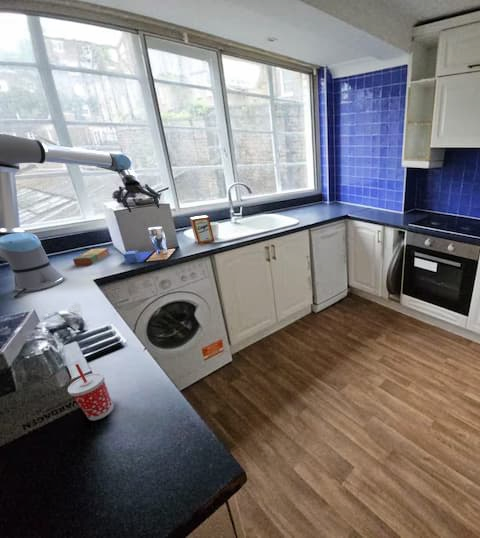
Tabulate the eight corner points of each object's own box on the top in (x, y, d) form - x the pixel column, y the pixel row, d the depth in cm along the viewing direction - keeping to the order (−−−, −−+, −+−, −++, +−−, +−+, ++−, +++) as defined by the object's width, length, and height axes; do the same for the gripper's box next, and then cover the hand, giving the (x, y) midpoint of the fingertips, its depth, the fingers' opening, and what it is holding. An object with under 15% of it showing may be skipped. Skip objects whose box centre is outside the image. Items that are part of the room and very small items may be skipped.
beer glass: (154, 256, 164) (146, 230, 158) (156, 252, 170) (148, 227, 164) (168, 254, 166) (161, 228, 160) (170, 250, 172) (163, 225, 166)
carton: (110, 254, 170) (107, 247, 168) (93, 264, 156) (90, 257, 154) (93, 255, 169) (91, 248, 167) (75, 266, 154) (71, 258, 152)
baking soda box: (211, 238, 195) (205, 214, 189) (214, 240, 191) (208, 216, 184) (195, 241, 190) (189, 217, 183) (198, 243, 185) (192, 218, 179)
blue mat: (143, 262, 157) (142, 261, 157) (121, 265, 154) (120, 264, 154) (154, 251, 173) (154, 250, 173) (134, 253, 170) (134, 252, 170)
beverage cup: (81, 413, 68) (54, 366, 62) (113, 397, 72) (91, 351, 67) (87, 428, 64) (60, 379, 59) (121, 409, 69) (98, 362, 63)
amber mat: (167, 259, 160) (166, 258, 160) (146, 262, 157) (145, 261, 157) (176, 249, 176) (175, 248, 175) (157, 251, 173) (156, 250, 173)
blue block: (137, 262, 156) (134, 253, 154) (126, 263, 155) (123, 254, 153) (140, 258, 160) (137, 250, 158) (130, 260, 159) (127, 251, 157)
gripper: (155, 182, 180) (169, 209, 176) (103, 186, 164) (118, 217, 160) (154, 173, 175) (169, 201, 171) (101, 177, 158) (116, 208, 154)
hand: (144, 209), depth 165 cm, fingers open, 13 cm apart
